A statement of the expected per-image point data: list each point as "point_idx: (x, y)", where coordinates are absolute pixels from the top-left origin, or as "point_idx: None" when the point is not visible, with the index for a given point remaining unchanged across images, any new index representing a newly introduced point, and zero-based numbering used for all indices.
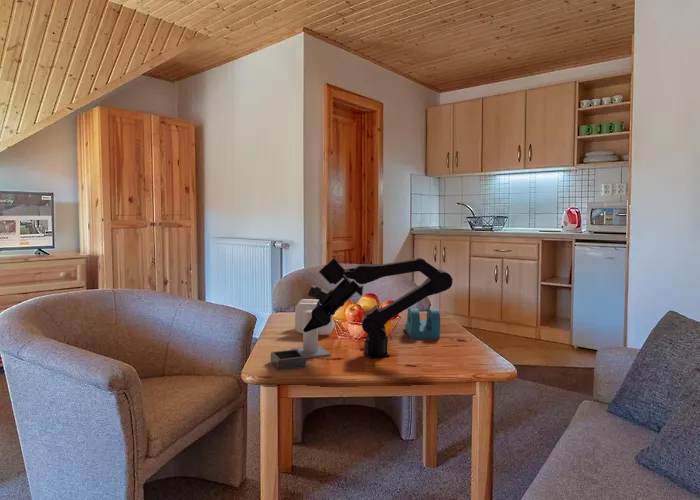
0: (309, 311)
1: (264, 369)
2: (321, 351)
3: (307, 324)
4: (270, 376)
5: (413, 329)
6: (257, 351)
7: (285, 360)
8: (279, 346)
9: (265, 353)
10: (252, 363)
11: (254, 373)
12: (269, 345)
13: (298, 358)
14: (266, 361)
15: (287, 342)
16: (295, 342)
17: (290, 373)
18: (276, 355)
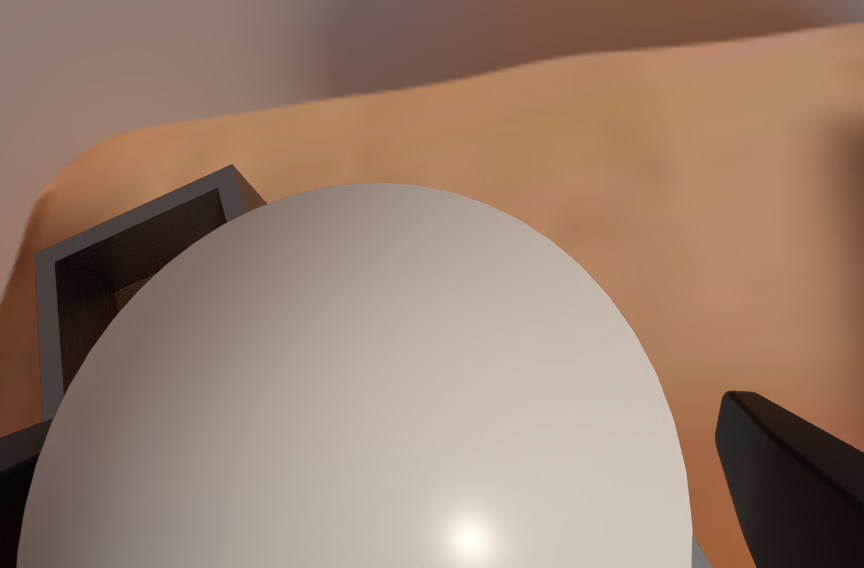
0: (375, 404)
1: (139, 202)
2: None
3: (47, 427)
4: (19, 259)
5: None
6: (497, 79)
7: (42, 302)
8: (652, 185)
9: (453, 134)
10: (255, 117)
11: (91, 169)
12: (665, 111)
13: (47, 398)
14: (281, 179)
15: (806, 224)
16: (833, 297)
17: (26, 368)
18: (146, 218)
